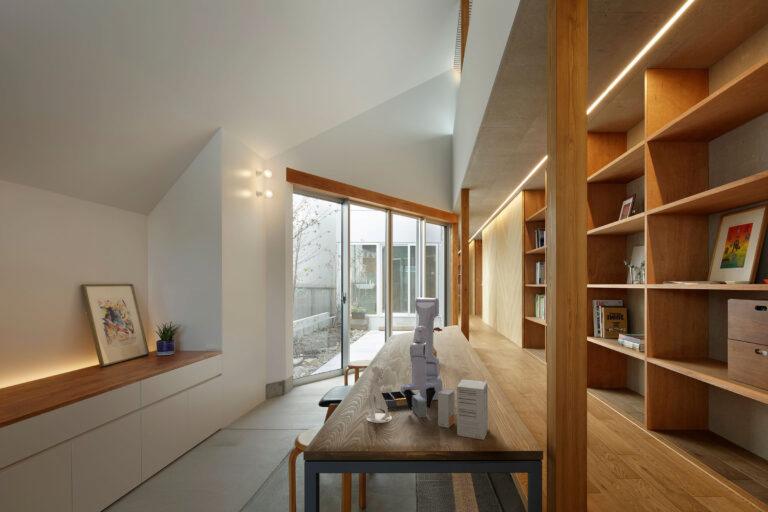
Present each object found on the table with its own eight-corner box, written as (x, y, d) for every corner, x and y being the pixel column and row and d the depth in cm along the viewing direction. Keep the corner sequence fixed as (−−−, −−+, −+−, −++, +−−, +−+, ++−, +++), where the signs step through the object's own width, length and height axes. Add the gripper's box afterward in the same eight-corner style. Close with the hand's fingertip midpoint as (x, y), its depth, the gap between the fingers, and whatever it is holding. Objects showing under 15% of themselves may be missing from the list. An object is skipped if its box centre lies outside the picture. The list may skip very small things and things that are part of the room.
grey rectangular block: (419, 409, 161) (419, 394, 161) (426, 417, 153) (426, 401, 153) (412, 410, 160) (412, 395, 160) (419, 417, 152) (418, 401, 152)
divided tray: (411, 398, 175) (411, 389, 175) (420, 406, 164) (420, 397, 164) (376, 401, 171) (376, 392, 171) (383, 410, 160) (382, 400, 160)
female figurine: (352, 412, 158) (352, 361, 159) (392, 412, 157) (392, 361, 158) (348, 422, 148) (348, 368, 148) (391, 423, 147) (391, 368, 147)
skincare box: (448, 428, 141) (448, 394, 142) (437, 426, 144) (437, 392, 144) (455, 422, 147) (454, 390, 147) (444, 420, 149) (444, 388, 149)
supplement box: (462, 425, 144) (461, 378, 145) (488, 429, 141) (487, 381, 141) (456, 435, 135) (456, 385, 136) (484, 440, 132) (483, 388, 132)
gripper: (404, 377, 151) (404, 413, 151) (440, 374, 155) (440, 410, 154) (399, 372, 158) (399, 407, 158) (433, 370, 162) (433, 404, 161)
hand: (419, 408), depth 156 cm, fingers open, 7 cm apart
